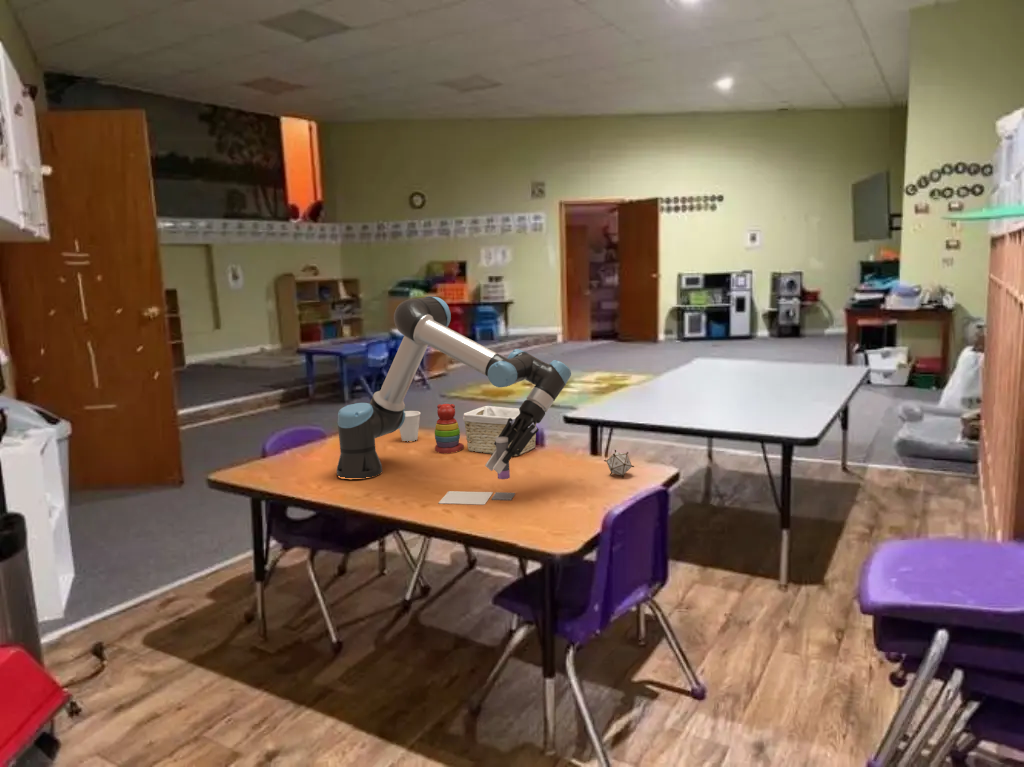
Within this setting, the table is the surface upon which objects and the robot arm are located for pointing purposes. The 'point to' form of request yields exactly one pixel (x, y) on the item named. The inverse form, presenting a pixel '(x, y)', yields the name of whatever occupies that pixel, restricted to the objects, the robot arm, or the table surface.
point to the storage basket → (489, 428)
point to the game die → (619, 463)
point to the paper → (466, 498)
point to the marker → (500, 448)
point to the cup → (410, 426)
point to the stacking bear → (447, 430)
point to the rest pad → (503, 496)
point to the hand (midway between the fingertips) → (492, 469)
